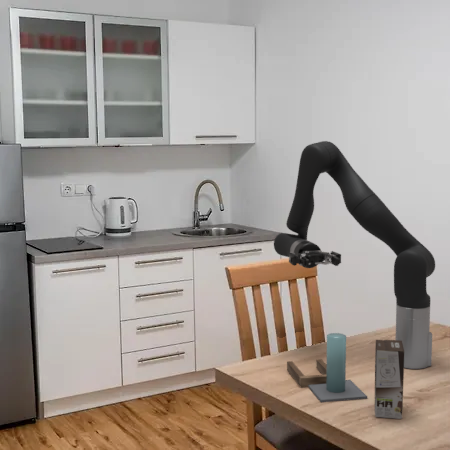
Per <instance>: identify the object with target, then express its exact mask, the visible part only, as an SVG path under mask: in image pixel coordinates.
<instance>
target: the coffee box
mask: <svg viewBox="0 0 450 450" xmlns="http://www.w3.org/2000/svg"><path fill="white" fill-rule="evenodd" d="M404 352H405V351H404V347H403V343H402V341H400V340H395V339H375V352H374V353H375V354H374V355H375V356H374V417H375V418H385V419H397V420H401V419H403V404H404V403H403V402H404V401H403V399H404V379H405V378H404V375H405V372H404V371H405V368H404Z"/></svg>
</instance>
